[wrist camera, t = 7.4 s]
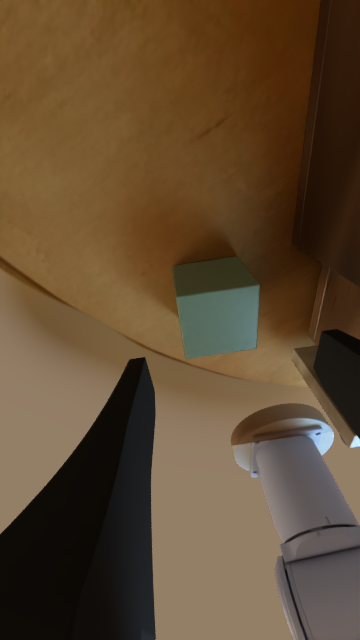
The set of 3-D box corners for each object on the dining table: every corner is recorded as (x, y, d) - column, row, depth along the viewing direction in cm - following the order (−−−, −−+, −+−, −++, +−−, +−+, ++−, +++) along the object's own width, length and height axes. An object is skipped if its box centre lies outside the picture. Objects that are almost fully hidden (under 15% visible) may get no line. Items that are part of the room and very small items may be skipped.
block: (238, 311, 17) (257, 349, 14) (180, 320, 17) (185, 359, 14) (238, 255, 15) (260, 283, 12) (171, 265, 15) (175, 296, 12)
